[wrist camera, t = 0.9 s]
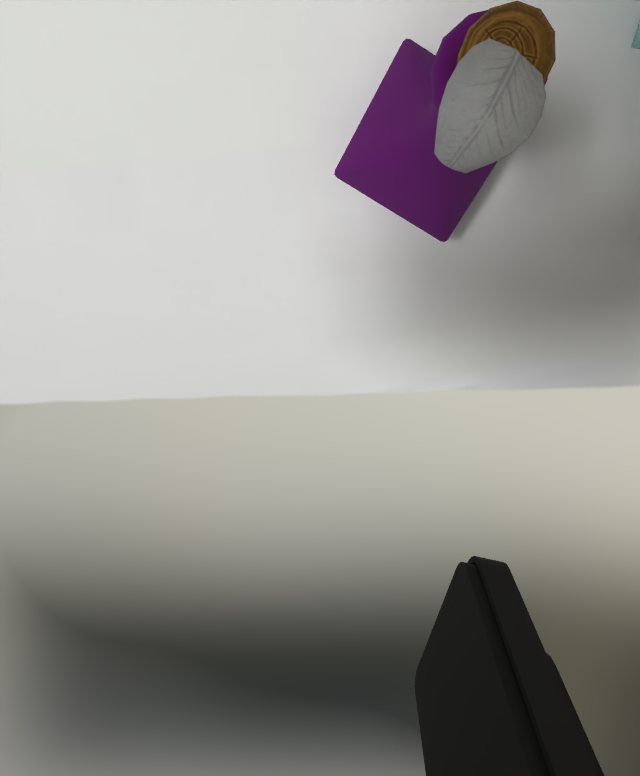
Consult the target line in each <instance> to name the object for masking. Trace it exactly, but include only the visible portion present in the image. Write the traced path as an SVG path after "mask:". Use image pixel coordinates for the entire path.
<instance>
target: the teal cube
mask: <svg viewBox="0 0 640 776" xmlns="http://www.w3.org/2000/svg"><path fill="white" fill-rule="evenodd" d="M631 47H634V48H639V49H640V22H639V25H638V28H637V31H636V34H635V37H634V40H633V43H632V46H631Z"/></svg>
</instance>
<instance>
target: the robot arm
mask: <svg viewBox="0 0 640 776" xmlns="http://www.w3.org/2000/svg"><path fill="white" fill-rule="evenodd" d="M415 695H416V702H417V710H418V717H419V725H420V732H421V740H422V747H423V755H424V762H425V770H426V776H604V774H603V772H602V769H601V767H600V765H599V763H598V760H597V758H596V756H595V754H594V751H593V749H592V747H591V745H590V742H589V740H588V738H587V735H586V733H585V731H584V729H583V727H582V724H581V722H580V720H579V717H578V715H577V713H576V710H575V708H574V706H573V704H572V701H571V699H570V697H569V695H568V692H567V690H566V688H565V686H564V683H563V681H562V679H561V677H560V674H559V672H558V670H557V668H556V665H555V664H554V662H553V660H552V658H551V657H550V656H549V655H548V654H547V653H546V652H545V650H544V648H543V645H542V643H541V641H540V638H539V636H538V634H537V631H536V629H535V627H534V625H533V622H532V620H531V618H530V615H529V613H528V611H527V608H526V606H525V604H524V602H523V599H522V597H521V594H520V592H519V590H518V588H517V585H516V583H515V581H514V578H513V576H512V574H511V571H510V569H509V567H508V566H507V564H505V563H504V562H499V561H495V560H490V559H485V558H481V557H476V556H473V557H471V559H469V561H468V563H464V562H460V563H459V564H458V566H457V568H456V570H455V573H454V576H453V579H452V581H451V583H450V586H449V588H448V591H447V593H446V596H445V599H444V601H443V604H442V606H441V609H440V611H439V614H438V616H437V619H436V622H435V624H434V627H433V629H432V632H431V635H430V637H429V640H428V642H427V645H426V647H425V650H424V652H423V655H422V657H421V660H420V662H419V665H418V668H417V671H416V677H415Z"/></svg>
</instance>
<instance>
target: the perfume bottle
mask: <svg viewBox="0 0 640 776" xmlns="http://www.w3.org/2000/svg"><path fill="white" fill-rule="evenodd" d="M554 62H555V31H554V30H553V28H552V26H551V25H550V23H549V22H548V20H547V18H546V17H545V15H544V14H543V12H542V11H541V9H538V8H535V7H533V6H530V5H527V4H525V3H522V2H519V1H515V2H511V3H507V4H504V5H500V6H497V7H493V8H490V9H489V10H486V11H482V12H477V13H473V14H470V15H468V16H467V17H466V18H465V19H464V20H463V21H462V22H460V23H459V24H458V25H457V26H456V27H455V28H454V29H453V30H452V31H450V32H449V33H448V34H447V35H446V36H445V37H444V38H443V39H442V42H441V45H440V47H439V50H438V52H437V55H436V56H435V55H433V54H432V53H430V52H429V51H427V50H426V49H424V48H423V47H421V46H420V45H418V44H417V43H415V42H414V41H412V40H411V39H405V40H404V41H403V43H402V45H401V46H400V48H399V50H398V52H397V54H396V56H395V58H394V60H393V62H392V63H391V65H390V67H389V69H388V71H387V73H386V75H385V77H384V79H383V80H382V82H381V84H380V86H379V88H378V90H377V92H376V94H375V96H374V98H373V99H372V101H371V103H370V105H369V107H368V109H367V111H366V113H365V115H364V116H363V118H362V120H361V122H360V124H359V126H358V128H357V130H356V132H355V134H354V135H353V137H352V139H351V141H350V143H349V145H348V147H347V149H346V151H345V152H344V154H343V156H342V158H341V160H340V162H339V164H338V166H337V168H336V169H335V176H336V177H337V178H339V179H340V180H342V181H343V182H345V183H347V184H348V185H350V186H352V187H353V188H355V189H356V190H358V191H360V192H361V193H363V194H365V195H366V196H368V197H370V198H371V199H373V200H374V201H376V202H378V203H379V204H381V205H383V206H384V207H386V208H387V209H389V210H391V211H392V212H394V213H396V214H397V215H399V216H401V217H402V218H404V219H405V220H407V221H409V222H410V223H412V224H414V225H415V226H417V227H418V228H420V229H422V230H423V231H425V232H427V233H428V234H430V235H432V236H433V237H435V238H436V239H438V240H440V241H442V242H445V241H446V240H448V238H449V237H450V235H451V234H452V232H453V230H454V229H455V227H456V226H457V224H458V222H459V221H460V219H461V218H462V216H463V215H464V213H465V211H466V210H467V208H468V207H469V205H470V204H471V202H472V200H473V199H474V197H475V196H476V194H477V193H478V191H479V189H480V188H481V186H482V185H483V183H484V181H485V180H486V178H487V177H488V175H489V174H490V172H491V170H492V169H493V167H494V166H495V164H496V163H497V161H498V160H499V159H501V158H503V157H505V156H507V155H509V154H511V153H512V152H513V151H514V150H515V149H516V148H517V147H518V146H519V145H520V144H522V143H523V142H524V141H525V140H526V139H527V138H528V137H529V136H530V134H531V133H532V131H533V129H534V127H535V126H536V124H537V122H538V121H539V119H540V117H541V115H542V111H543V107H544V103H545V99H546V94H545V88H544V86H545V84H546V81H547V77H548V74H549V72H550V70H551V68H552V66H553V64H554Z"/></svg>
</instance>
